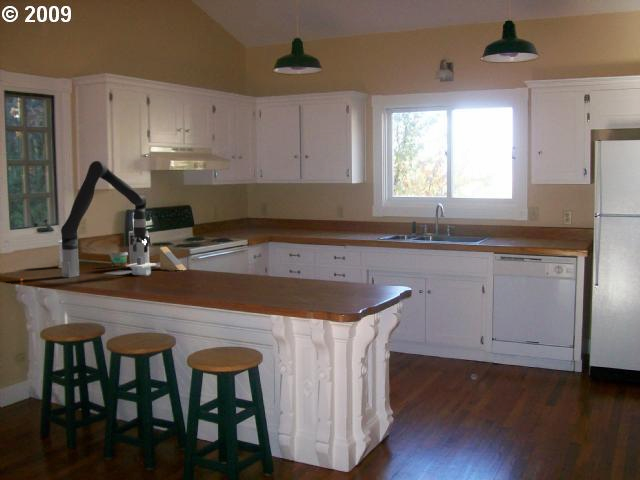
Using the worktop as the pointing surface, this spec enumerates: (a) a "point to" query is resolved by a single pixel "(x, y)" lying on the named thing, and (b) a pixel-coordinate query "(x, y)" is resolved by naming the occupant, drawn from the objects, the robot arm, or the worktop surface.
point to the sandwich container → (169, 260)
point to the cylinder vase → (139, 251)
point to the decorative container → (60, 253)
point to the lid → (141, 263)
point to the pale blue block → (141, 271)
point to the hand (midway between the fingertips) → (140, 252)
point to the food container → (118, 259)
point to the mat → (119, 272)
